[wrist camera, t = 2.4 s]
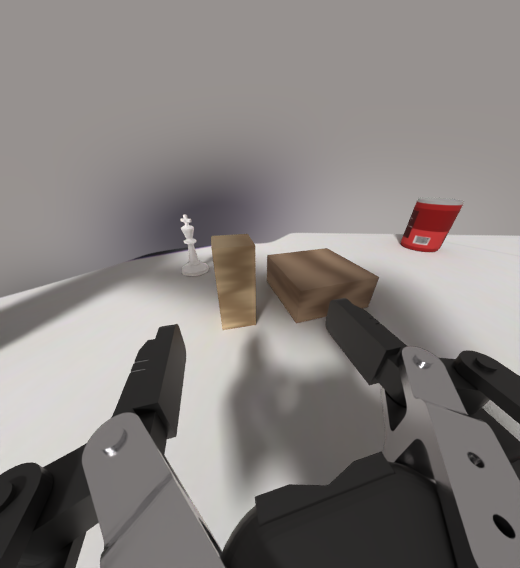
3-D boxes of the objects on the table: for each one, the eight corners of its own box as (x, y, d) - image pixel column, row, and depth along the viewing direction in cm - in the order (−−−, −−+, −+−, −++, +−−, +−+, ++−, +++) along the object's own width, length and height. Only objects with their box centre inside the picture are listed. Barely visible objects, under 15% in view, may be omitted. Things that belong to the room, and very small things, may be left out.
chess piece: (191, 263, 38) (181, 211, 33) (213, 266, 37) (206, 213, 32) (176, 274, 34) (161, 217, 29) (200, 278, 33) (189, 219, 27)
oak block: (222, 330, 22) (211, 248, 17) (220, 309, 25) (211, 236, 20) (255, 324, 23) (255, 245, 17) (249, 305, 26) (247, 233, 21)
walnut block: (296, 325, 23) (300, 291, 20) (266, 282, 32) (267, 255, 29) (367, 308, 26) (379, 277, 23) (321, 273, 35) (326, 248, 32)
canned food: (447, 252, 44) (475, 201, 38) (413, 252, 44) (436, 201, 38) (422, 242, 50) (443, 197, 45) (393, 242, 50) (410, 197, 44)
